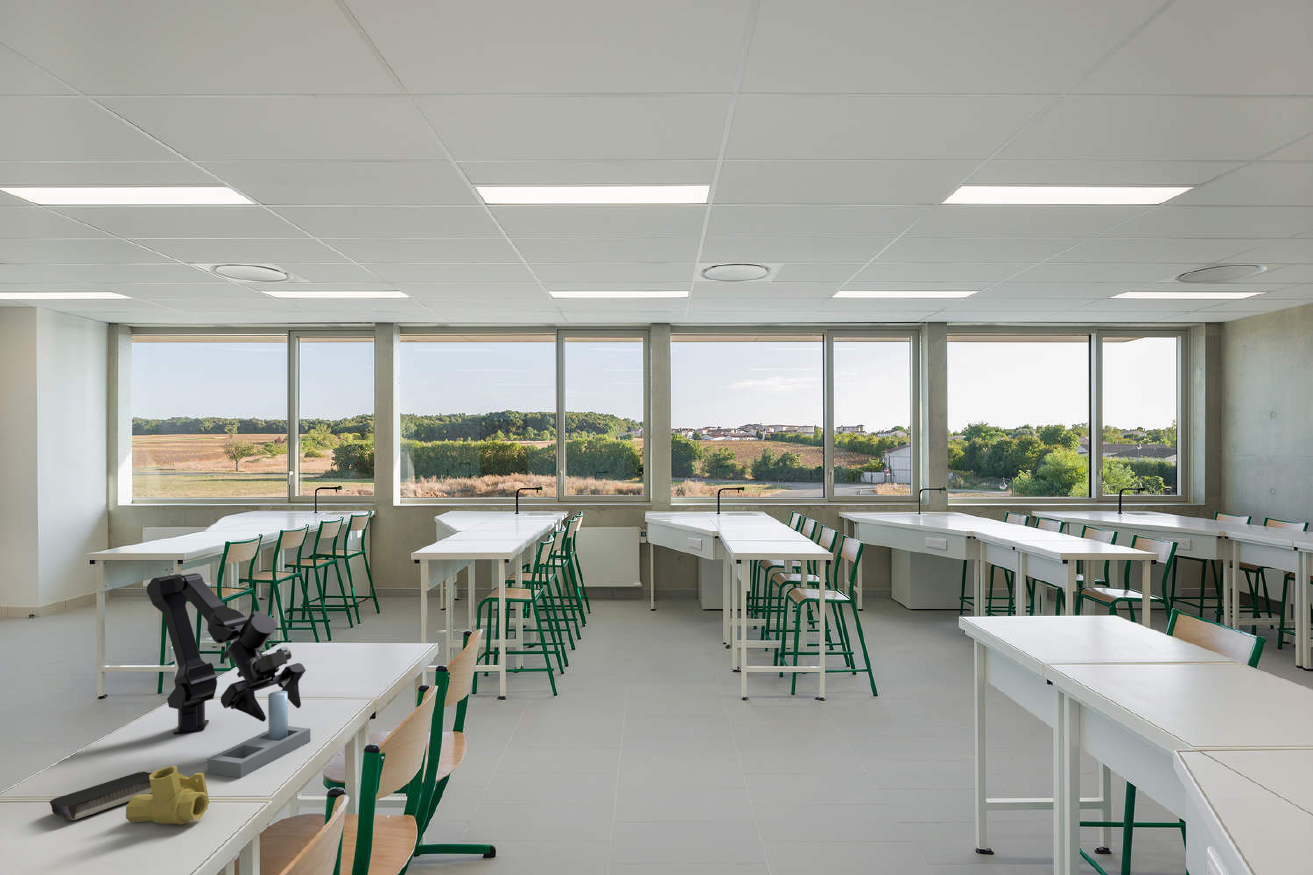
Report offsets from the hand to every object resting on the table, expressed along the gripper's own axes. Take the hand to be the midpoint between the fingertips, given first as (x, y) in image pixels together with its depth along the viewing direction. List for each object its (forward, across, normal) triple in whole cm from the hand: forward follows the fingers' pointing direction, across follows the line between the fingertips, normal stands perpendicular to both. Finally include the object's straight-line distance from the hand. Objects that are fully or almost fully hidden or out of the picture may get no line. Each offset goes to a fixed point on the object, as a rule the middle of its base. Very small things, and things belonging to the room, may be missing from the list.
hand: (282, 713), depth 172 cm
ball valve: (+12, -30, 0) cm, 33 cm away
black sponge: (0, -32, +12) cm, 35 cm away
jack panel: (+5, -5, +6) cm, 9 cm away
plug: (+5, 0, +7) cm, 8 cm away
